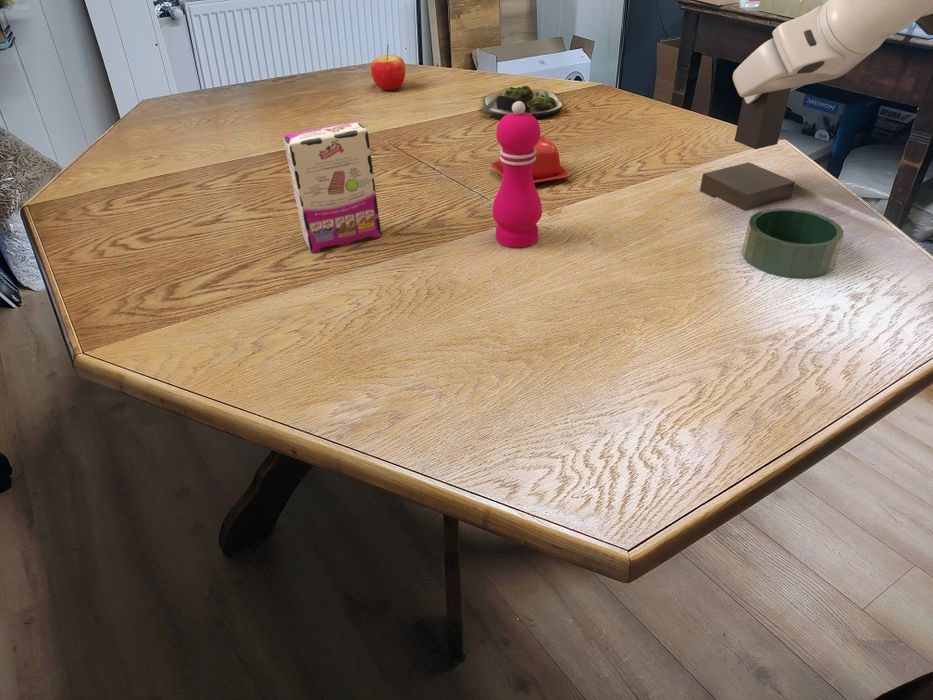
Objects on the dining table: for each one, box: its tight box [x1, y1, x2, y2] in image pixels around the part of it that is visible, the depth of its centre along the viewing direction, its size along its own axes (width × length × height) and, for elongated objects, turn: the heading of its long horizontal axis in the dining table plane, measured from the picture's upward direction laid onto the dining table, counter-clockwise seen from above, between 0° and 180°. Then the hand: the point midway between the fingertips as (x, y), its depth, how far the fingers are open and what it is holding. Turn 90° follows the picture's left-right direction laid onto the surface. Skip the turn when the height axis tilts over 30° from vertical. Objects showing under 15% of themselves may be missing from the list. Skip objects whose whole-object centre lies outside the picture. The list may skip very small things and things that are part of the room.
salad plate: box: [481, 84, 563, 121], centre depth 152 cm, size 19×18×5 cm
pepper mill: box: [491, 101, 543, 249], centre depth 96 cm, size 7×7×20 cm
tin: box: [741, 207, 844, 280], centre depth 93 cm, size 12×12×5 cm
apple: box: [370, 44, 407, 91], centre depth 166 cm, size 8×8×10 cm
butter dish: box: [490, 134, 571, 184], centre depth 119 cm, size 12×12×8 cm
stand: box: [699, 162, 796, 212], centre depth 111 cm, size 10×10×3 cm
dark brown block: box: [734, 88, 791, 150], centre depth 104 cm, size 4×4×10 cm
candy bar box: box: [282, 121, 382, 254], centre depth 99 cm, size 11×5×16 cm, turn 115°
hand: (762, 95), depth 103 cm, fingers closed on dark brown block, 4 cm apart
